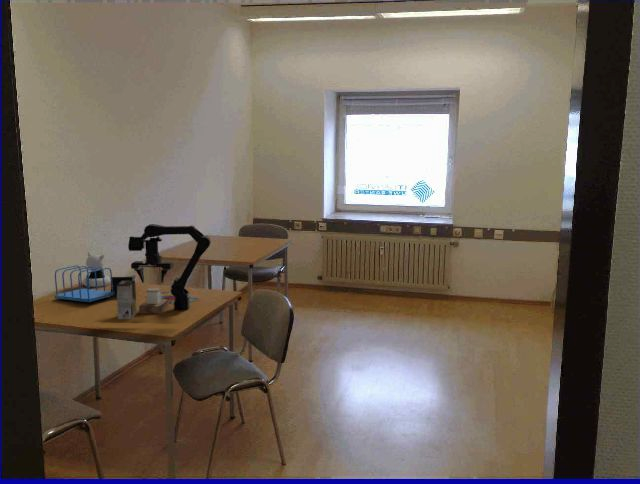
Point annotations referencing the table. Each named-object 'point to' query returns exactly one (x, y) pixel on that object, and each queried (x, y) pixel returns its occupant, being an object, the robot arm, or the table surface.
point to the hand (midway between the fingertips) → (152, 282)
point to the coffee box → (126, 299)
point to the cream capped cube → (153, 295)
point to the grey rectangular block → (116, 281)
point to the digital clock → (132, 278)
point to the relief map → (172, 298)
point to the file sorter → (83, 294)
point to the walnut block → (153, 307)
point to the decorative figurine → (96, 262)
